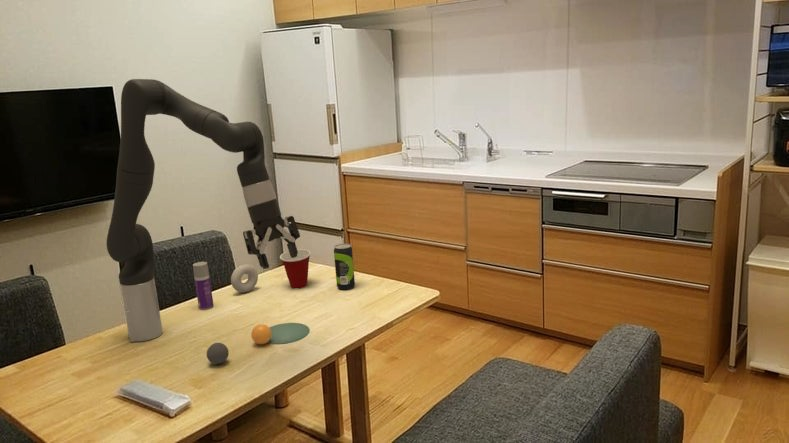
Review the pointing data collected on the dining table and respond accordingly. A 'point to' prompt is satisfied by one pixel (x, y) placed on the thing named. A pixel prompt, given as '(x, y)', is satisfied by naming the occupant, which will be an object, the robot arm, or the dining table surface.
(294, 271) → the plastic cup
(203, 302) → the container
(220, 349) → the dark grey ball
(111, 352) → the dining table surface
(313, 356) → the dining table surface
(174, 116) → the robot arm
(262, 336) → the orange ball
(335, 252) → the beverage can
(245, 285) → the donut
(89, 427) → the dining table surface
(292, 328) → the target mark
